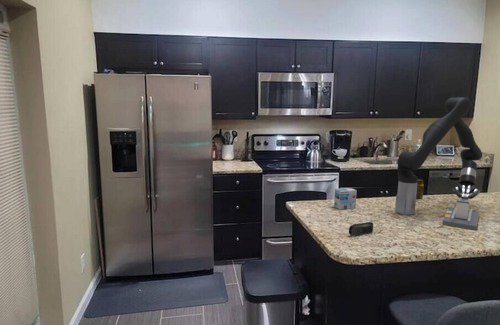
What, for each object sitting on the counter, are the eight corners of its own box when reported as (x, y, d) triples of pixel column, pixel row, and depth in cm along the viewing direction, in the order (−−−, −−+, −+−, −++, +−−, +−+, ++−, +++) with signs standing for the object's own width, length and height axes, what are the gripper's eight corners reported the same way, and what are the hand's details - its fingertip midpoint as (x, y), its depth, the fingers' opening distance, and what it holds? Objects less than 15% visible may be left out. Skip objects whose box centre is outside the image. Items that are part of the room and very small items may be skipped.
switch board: (448, 210, 192) (448, 204, 191) (478, 215, 184) (479, 208, 183) (442, 224, 169) (442, 217, 168) (476, 230, 161) (477, 223, 160)
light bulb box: (339, 210, 193) (340, 191, 191) (333, 206, 199) (334, 188, 197) (356, 208, 195) (357, 190, 194) (349, 205, 202) (350, 187, 200)
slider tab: (455, 215, 176) (457, 198, 174) (467, 217, 173) (469, 200, 171) (455, 217, 172) (456, 200, 171) (467, 219, 169) (469, 202, 168)
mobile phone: (369, 220, 160) (345, 225, 153) (374, 222, 157) (350, 227, 150) (369, 231, 161) (345, 235, 153) (374, 233, 158) (350, 238, 151)
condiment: (425, 198, 218) (426, 179, 216) (419, 200, 212) (421, 181, 210) (413, 196, 223) (414, 178, 221) (407, 198, 217) (409, 180, 216)
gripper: (454, 172, 192) (449, 198, 184) (482, 175, 185) (479, 202, 177) (454, 180, 198) (449, 205, 190) (481, 183, 190) (478, 209, 182)
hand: (464, 204), depth 183 cm, fingers closed
